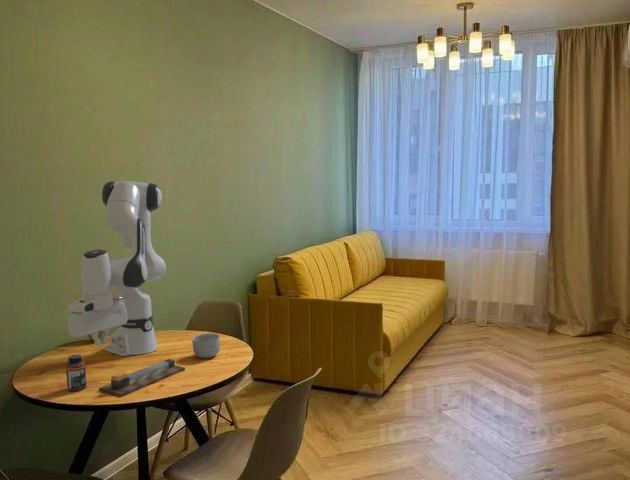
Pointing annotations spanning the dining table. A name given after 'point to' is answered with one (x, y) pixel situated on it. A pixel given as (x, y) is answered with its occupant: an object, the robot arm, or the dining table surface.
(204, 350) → the teacup
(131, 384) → the board
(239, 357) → the dining table surface
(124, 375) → the tab
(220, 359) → the dining table surface
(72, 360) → the supplement bottle
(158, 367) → the tongs arm
